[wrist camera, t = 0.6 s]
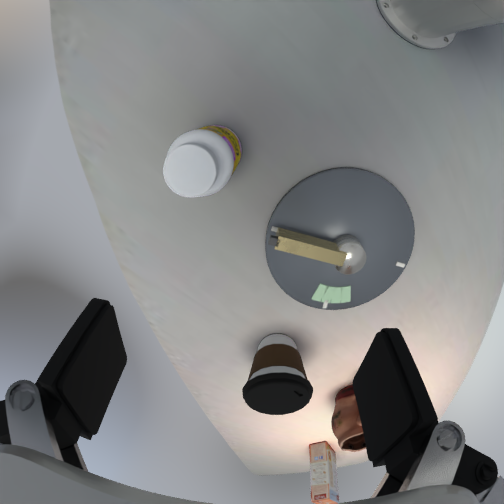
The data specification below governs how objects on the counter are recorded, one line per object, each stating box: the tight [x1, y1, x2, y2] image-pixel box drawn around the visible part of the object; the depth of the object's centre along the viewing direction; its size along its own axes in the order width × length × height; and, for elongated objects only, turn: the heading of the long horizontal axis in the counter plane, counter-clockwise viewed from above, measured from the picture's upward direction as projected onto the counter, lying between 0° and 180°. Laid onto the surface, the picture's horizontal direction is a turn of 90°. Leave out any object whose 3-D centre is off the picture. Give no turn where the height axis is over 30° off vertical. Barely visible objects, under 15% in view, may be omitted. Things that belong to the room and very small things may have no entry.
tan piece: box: [268, 227, 366, 275], centre depth 36 cm, size 13×4×4 cm, turn 76°
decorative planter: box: [332, 385, 366, 452], centre depth 50 cm, size 20×12×14 cm, turn 16°
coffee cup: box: [243, 334, 313, 415], centre depth 44 cm, size 11×11×12 cm
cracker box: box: [309, 441, 339, 504], centre depth 65 cm, size 14×6×21 cm, turn 25°
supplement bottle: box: [163, 125, 242, 198], centre depth 28 cm, size 7×7×13 cm
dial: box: [266, 168, 415, 310], centre depth 39 cm, size 22×22×1 cm
